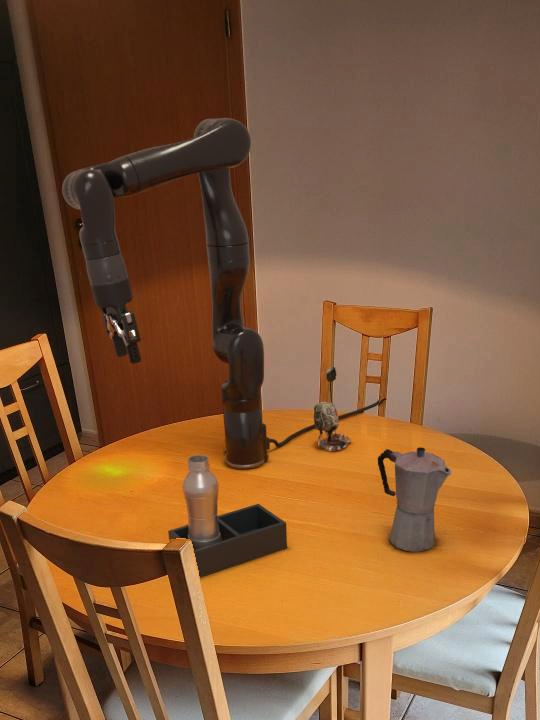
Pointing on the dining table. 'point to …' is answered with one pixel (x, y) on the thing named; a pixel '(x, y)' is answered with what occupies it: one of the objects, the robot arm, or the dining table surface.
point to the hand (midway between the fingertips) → (128, 359)
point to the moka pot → (414, 496)
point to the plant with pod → (329, 420)
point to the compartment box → (239, 539)
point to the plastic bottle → (201, 503)
